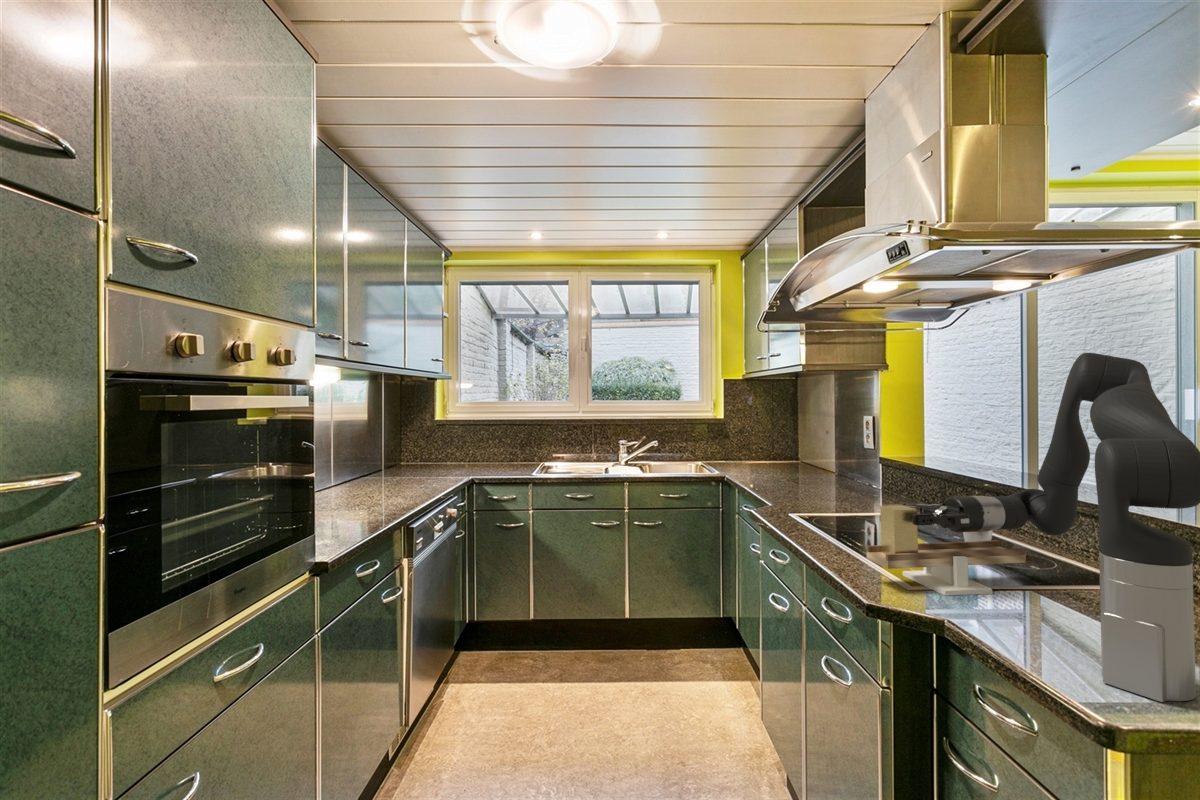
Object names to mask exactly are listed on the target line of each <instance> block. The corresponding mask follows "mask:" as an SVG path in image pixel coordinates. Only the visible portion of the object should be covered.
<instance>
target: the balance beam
mask: <svg viewBox="0 0 1200 800" xmlns="http://www.w3.org/2000/svg"><path fill="white" fill-rule="evenodd" d="M865 549H866V560H868V561H871V562H873V563H875V564H877V565H879V566H880V567H883V568H886V569H887V570H893V569H894V570H895V569H915V568H923V567H940V566H953V556H965V557H968V566H978V565H979V566H980V565H982V566H983V565H1003V564H1004V565H1005V564H1021V563H1023V564H1025V563H1027V559H1026V557H1027V554H1026V553H1027V552H1026V548H1025V547H1018V548H1017V547H1014V548H1005V547H1003V546H1000V541H999V540H996V539H993V540H992V539H991V540H990V541H967V542H965V541H950V542H949V541H943V542H926V543H925V542H924V543H923V542H922V543H918V553H900V554H883V553H881V544H879V545H878V544H876V545H866V547H865Z"/></svg>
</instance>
